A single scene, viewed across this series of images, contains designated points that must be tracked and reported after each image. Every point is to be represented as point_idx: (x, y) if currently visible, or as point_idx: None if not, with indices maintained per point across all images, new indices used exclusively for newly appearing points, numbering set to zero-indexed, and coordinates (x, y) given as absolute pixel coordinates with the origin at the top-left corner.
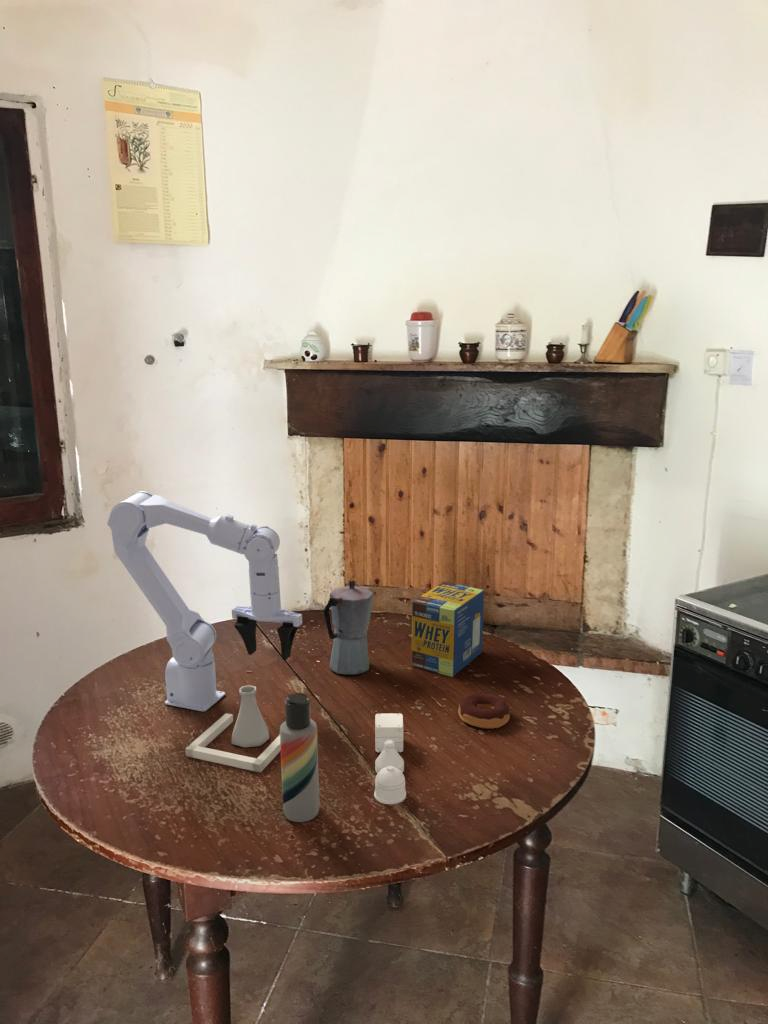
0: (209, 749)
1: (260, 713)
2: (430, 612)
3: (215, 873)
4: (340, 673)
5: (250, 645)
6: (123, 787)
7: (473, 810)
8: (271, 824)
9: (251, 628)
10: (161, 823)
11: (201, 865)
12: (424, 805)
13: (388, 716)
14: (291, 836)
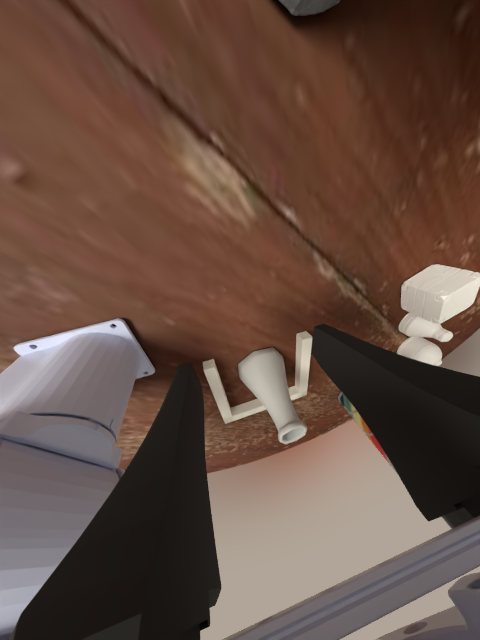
0: (247, 411)
1: (281, 378)
2: None
3: (319, 435)
4: (306, 14)
5: (200, 416)
6: (214, 451)
7: (466, 324)
8: (333, 407)
9: (194, 505)
10: (269, 443)
11: (310, 437)
12: (432, 340)
13: (461, 293)
14: None
